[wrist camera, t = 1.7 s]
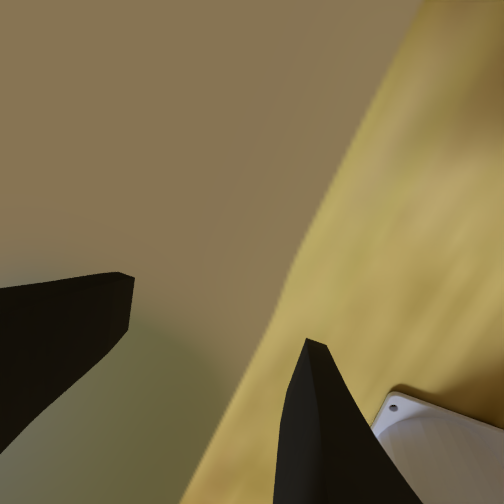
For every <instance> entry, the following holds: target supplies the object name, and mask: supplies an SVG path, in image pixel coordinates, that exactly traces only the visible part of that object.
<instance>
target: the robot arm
mask: <svg viewBox="0 0 504 504" xmlns="http://www.w3.org/2000/svg"><path fill="white" fill-rule="evenodd" d="M134 281H135V278H134V277H132V276H129V275H126V274H123V273H120V272H109V273H100V274H93V275H87V276H80V277H74V278H68V279H62V280H56V281H49V282H43V283H35V284H28V285H21V286H13V287H6V288H0V454H1V453H2V452H3V451H4V450H5V449H6V448H7V446H9V444H10V443H11V442H12V441H13V440H14V439H15V438H16V437H17V436H18V435H19V434H20V433H21V432H22V431H23V430H24V429H25V428H26V427H27V426H28V425H29V424H30V423H31V422H32V421H33V420H34V419H35V418H36V417H37V416H38V415H39V414H40V413H41V412H42V411H43V410H45V409H46V408H47V407H48V406H49V405H50V404H51V403H53V402H54V401H55V400H56V399H57V398H58V397H59V396H60V395H62V394H63V393H64V392H65V391H66V390H67V389H68V388H70V387H71V386H72V385H73V384H74V383H75V382H76V381H77V380H78V379H80V378H81V377H82V376H83V375H84V374H86V373H87V372H88V371H89V370H90V369H91V368H92V367H93V366H94V365H95V364H97V363H98V362H99V361H100V360H101V359H102V358H103V357H104V356H105V355H106V354H108V352H109V351H110V350H111V349H112V348H113V347H114V346H115V345H116V344H117V342H118V341H119V340H120V339H121V338H122V336H123V335H124V334H125V333H126V332H127V330H128V326H129V318H130V311H131V303H132V296H133V288H134ZM391 405H396V406H395V407H390V406H391ZM273 504H504V430H502V429H500V428H497V427H494V426H491V425H489V424H486V423H483V422H480V421H477V420H475V419H472V418H469V417H466V416H464V415H461V414H458V413H455V412H453V411H450V410H447V409H444V408H442V407H439V406H436V405H433V404H430V403H428V402H425V401H422V400H419V399H417V398H414V397H411V396H408V395H406V394H403V393H400V392H396V391H394V392H391V393H389V394H388V395H387V397H386V399H385V401H384V403H383V405H382V407H381V409H380V411H379V413H378V415H377V417H376V418H375V420H374V422H373V424H372V426H371V428H370V426H369V425H368V423H367V422H366V420H365V418H364V417H363V415H362V413H361V412H360V410H359V408H358V406H357V405H356V403H355V401H354V399H353V397H352V395H351V394H350V392H349V390H348V388H347V386H346V384H345V382H344V380H343V378H342V376H341V374H340V372H339V370H338V368H337V366H336V364H335V362H334V360H333V358H332V355H331V353H330V351H329V349H328V347H327V345H325V344H322V343H319V342H316V341H314V340H311V339H308V338H306V340H305V343H304V346H303V348H302V351H301V354H300V356H299V359H298V362H297V365H296V367H295V370H294V373H293V375H292V378H291V381H290V383H289V386H288V389H287V392H286V397H285V402H284V407H283V412H282V417H281V422H280V431H279V441H278V451H277V462H276V473H275V484H274V495H273Z"/></svg>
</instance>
